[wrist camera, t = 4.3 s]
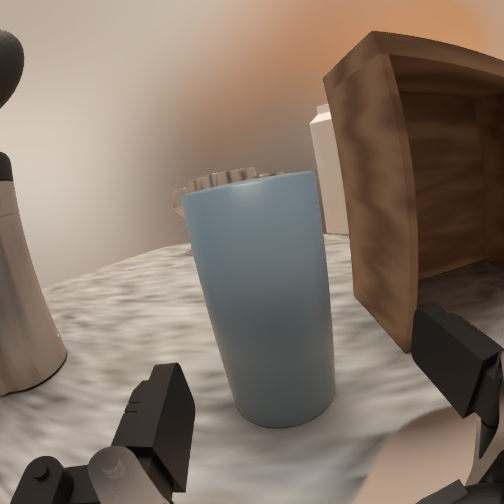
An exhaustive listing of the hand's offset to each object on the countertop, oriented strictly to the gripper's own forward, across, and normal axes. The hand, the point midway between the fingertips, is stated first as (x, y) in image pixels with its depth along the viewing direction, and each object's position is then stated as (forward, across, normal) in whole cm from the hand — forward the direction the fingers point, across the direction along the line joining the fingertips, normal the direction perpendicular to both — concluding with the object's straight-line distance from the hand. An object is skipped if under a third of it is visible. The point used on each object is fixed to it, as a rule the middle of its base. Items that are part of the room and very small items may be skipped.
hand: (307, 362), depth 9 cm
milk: (+40, +17, -6) cm, 43 cm away
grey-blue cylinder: (+6, -1, -6) cm, 9 cm away
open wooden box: (+11, +17, -6) cm, 21 cm away
